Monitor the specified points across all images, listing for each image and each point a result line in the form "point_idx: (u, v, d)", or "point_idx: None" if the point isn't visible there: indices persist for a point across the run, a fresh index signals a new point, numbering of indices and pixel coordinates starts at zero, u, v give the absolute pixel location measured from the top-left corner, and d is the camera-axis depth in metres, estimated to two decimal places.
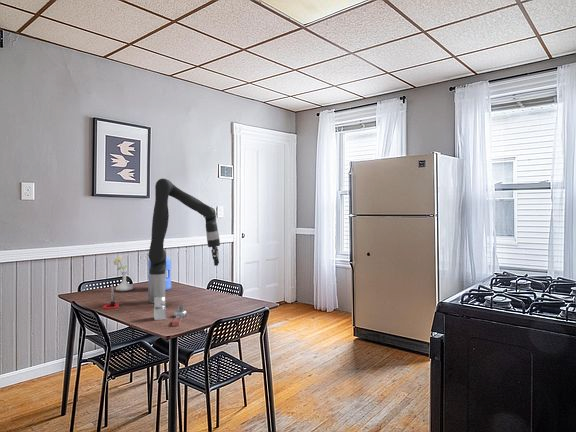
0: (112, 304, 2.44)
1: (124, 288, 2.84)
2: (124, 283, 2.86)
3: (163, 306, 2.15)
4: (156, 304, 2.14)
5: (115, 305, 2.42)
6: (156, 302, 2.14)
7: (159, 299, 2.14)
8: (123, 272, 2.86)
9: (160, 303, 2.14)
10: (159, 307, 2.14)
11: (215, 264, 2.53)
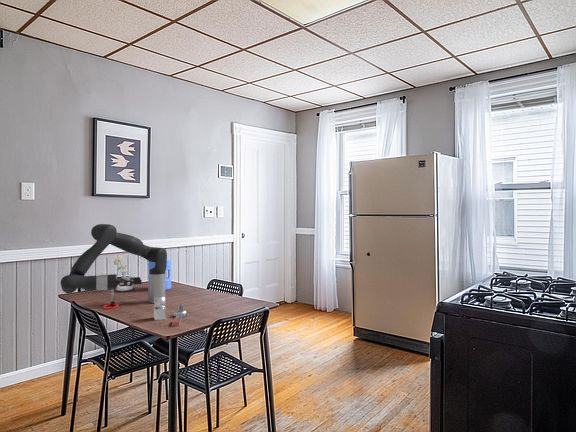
0: (112, 304, 2.44)
1: (124, 288, 2.84)
2: None
3: (163, 306, 2.15)
4: (156, 304, 2.14)
5: (115, 305, 2.42)
6: (156, 302, 2.14)
7: (159, 299, 2.14)
8: (123, 272, 2.86)
9: (160, 303, 2.14)
10: (159, 307, 2.14)
11: None
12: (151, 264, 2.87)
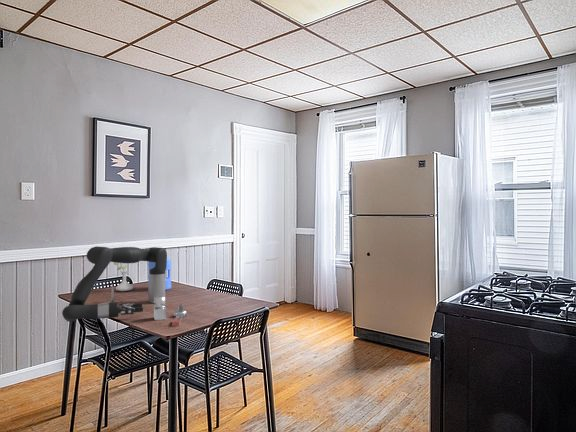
0: None
1: (124, 288, 2.84)
2: (124, 283, 2.86)
3: (163, 306, 2.15)
4: (156, 304, 2.14)
5: None
6: (156, 302, 2.14)
7: (159, 299, 2.14)
8: (123, 272, 2.86)
9: (160, 303, 2.14)
10: (159, 307, 2.14)
11: None
12: (151, 264, 2.87)
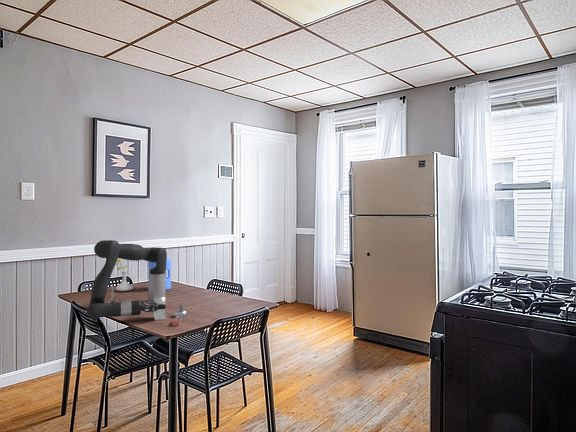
0: None
1: (124, 288, 2.84)
2: (124, 283, 2.86)
3: None
4: (156, 304, 2.14)
5: None
6: (156, 302, 2.14)
7: (159, 299, 2.14)
8: (123, 272, 2.86)
9: (160, 303, 2.14)
10: None
11: None
12: (151, 264, 2.87)
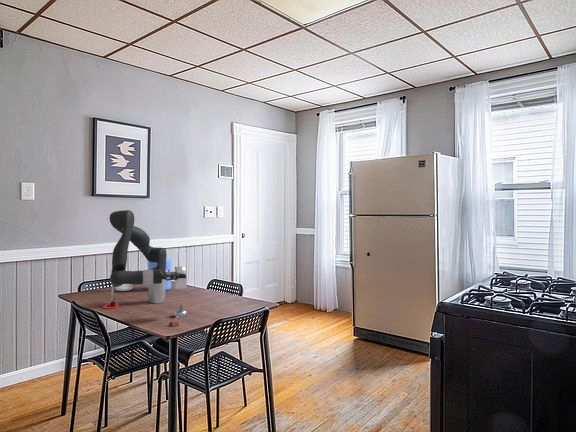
0: (112, 304, 2.44)
1: (124, 288, 2.84)
2: None
3: None
4: (177, 273, 2.18)
5: (115, 305, 2.42)
6: (177, 271, 2.18)
7: (180, 268, 2.18)
8: None
9: (181, 272, 2.18)
10: None
11: None
12: (151, 264, 2.87)
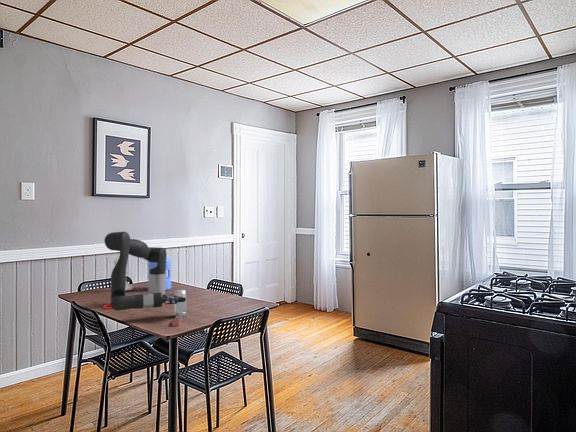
0: None
1: None
2: None
3: None
4: (177, 297, 2.19)
5: None
6: (177, 295, 2.19)
7: (180, 292, 2.19)
8: None
9: (181, 296, 2.19)
10: None
11: None
12: (151, 264, 2.87)
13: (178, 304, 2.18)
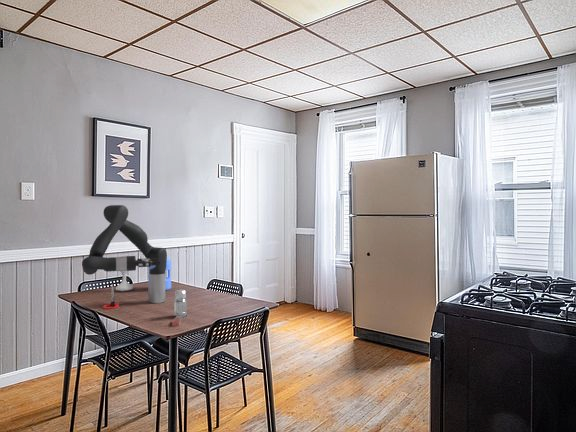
0: (112, 304, 2.44)
1: (124, 288, 2.84)
2: (124, 283, 2.86)
3: (184, 299, 2.20)
4: (177, 297, 2.19)
5: (115, 305, 2.42)
6: (177, 295, 2.19)
7: (180, 292, 2.19)
8: (123, 272, 2.86)
9: (181, 296, 2.19)
10: (180, 300, 2.19)
11: None
12: None
13: (178, 304, 2.18)
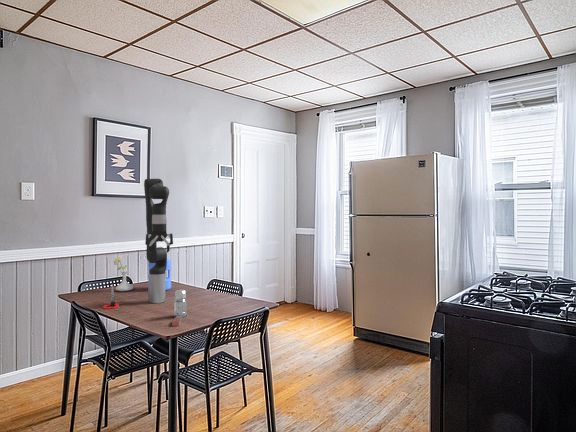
0: (112, 304, 2.44)
1: (124, 288, 2.84)
2: (124, 283, 2.86)
3: (184, 299, 2.20)
4: (177, 297, 2.19)
5: (115, 305, 2.42)
6: (177, 295, 2.19)
7: (180, 292, 2.19)
8: (123, 272, 2.86)
9: (181, 296, 2.19)
10: (180, 300, 2.19)
11: (149, 251, 2.25)
12: (151, 264, 2.87)
13: (178, 304, 2.18)
